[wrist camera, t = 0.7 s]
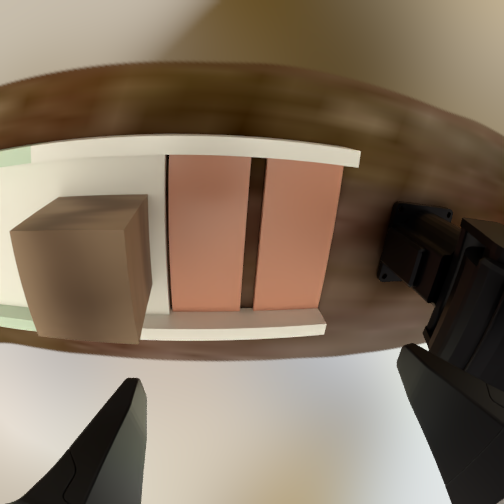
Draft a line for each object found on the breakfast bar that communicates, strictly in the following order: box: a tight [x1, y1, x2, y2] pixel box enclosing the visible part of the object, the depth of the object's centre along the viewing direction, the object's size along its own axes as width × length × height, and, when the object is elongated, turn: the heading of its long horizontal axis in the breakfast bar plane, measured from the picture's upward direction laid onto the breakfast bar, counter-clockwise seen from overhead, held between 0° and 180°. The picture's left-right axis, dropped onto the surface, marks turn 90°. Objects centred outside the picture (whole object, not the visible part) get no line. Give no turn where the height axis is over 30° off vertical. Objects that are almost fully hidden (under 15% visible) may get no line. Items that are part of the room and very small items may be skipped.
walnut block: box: [9, 194, 153, 344], centre depth 15 cm, size 6×6×6 cm
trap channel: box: [0, 134, 361, 341], centre depth 17 cm, size 30×13×2 cm, turn 85°
